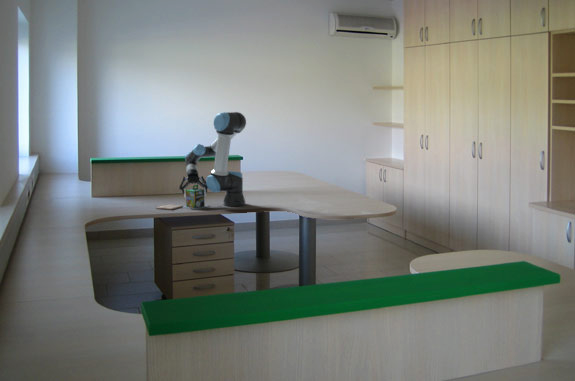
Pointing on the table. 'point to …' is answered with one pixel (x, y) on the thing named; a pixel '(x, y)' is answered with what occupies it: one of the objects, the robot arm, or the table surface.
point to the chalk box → (195, 197)
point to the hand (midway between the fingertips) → (195, 196)
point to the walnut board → (169, 207)
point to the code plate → (196, 207)
